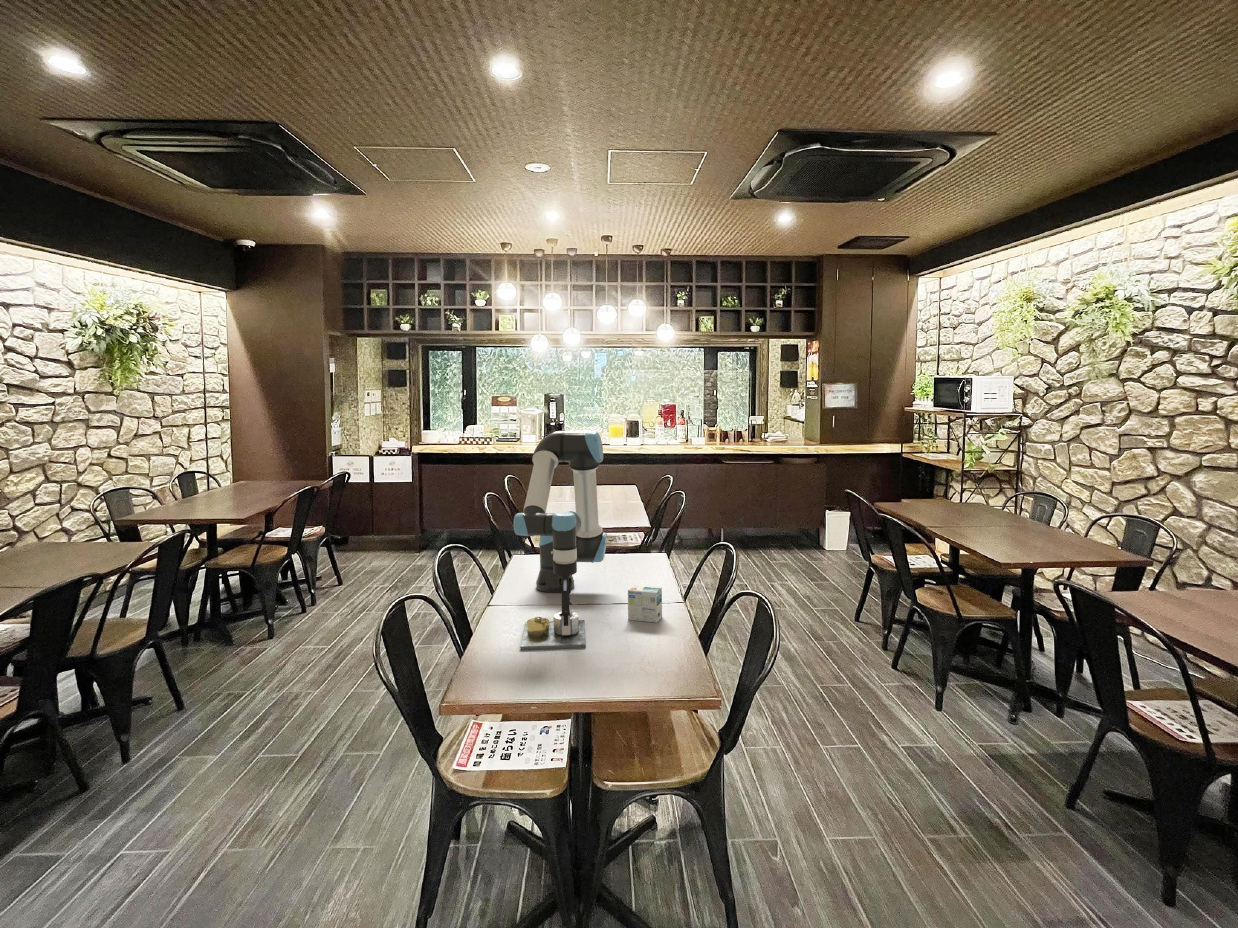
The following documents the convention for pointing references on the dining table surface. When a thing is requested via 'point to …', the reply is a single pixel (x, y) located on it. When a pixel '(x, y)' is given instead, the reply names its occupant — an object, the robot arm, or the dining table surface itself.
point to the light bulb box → (645, 603)
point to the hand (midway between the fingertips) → (566, 629)
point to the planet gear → (573, 623)
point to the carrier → (550, 636)
